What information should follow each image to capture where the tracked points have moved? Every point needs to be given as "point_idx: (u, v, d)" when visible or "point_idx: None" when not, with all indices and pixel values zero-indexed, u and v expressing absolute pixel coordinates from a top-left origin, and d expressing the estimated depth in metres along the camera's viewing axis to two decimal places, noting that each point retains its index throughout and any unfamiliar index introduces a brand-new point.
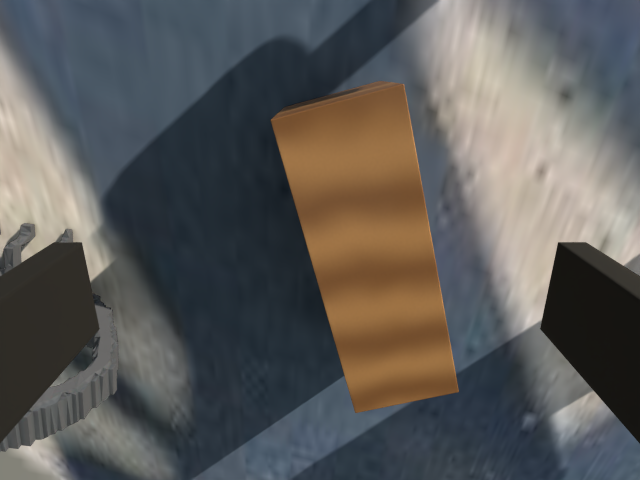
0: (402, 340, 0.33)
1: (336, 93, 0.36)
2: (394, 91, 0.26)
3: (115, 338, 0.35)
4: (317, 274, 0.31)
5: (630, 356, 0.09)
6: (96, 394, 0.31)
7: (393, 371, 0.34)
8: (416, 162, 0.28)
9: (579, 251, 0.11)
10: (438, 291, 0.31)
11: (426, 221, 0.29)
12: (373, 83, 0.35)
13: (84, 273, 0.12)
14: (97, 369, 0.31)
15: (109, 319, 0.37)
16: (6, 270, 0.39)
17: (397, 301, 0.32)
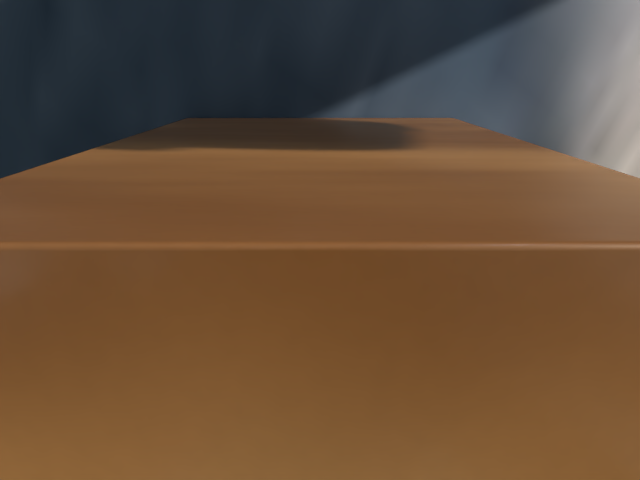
0: None
1: (332, 121, 0.13)
2: None
3: None
4: None
5: None
6: None
7: None
8: None
9: None
10: None
11: None
12: (440, 121, 0.12)
13: None
14: None
15: None
16: None
17: None
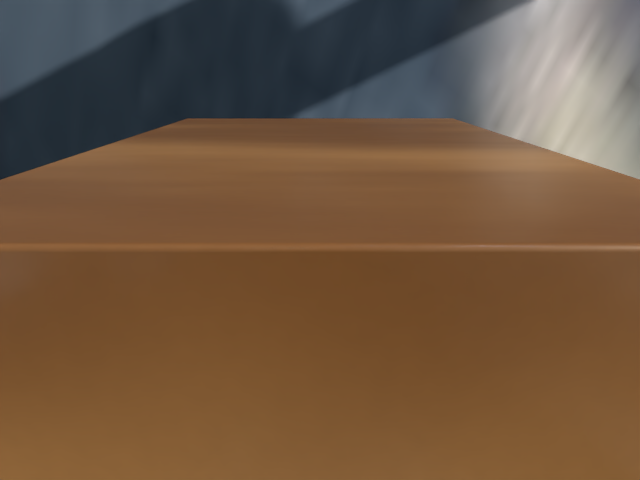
0: None
1: (332, 121, 0.13)
2: None
3: None
4: None
5: None
6: None
7: None
8: None
9: None
10: None
11: None
12: (440, 122, 0.12)
13: None
14: None
15: None
16: None
17: None
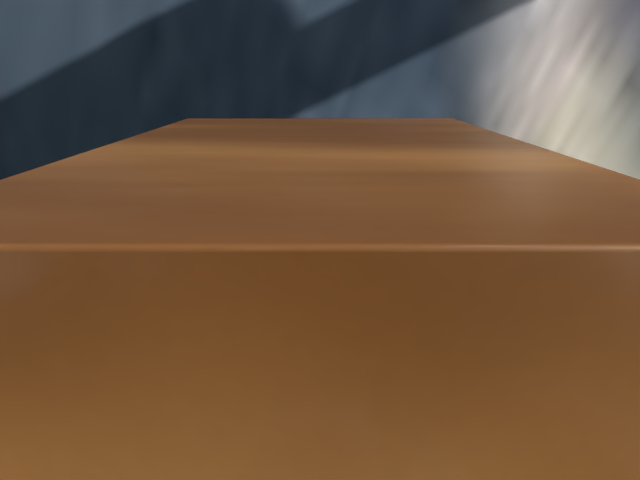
0: None
1: (333, 121, 0.13)
2: None
3: None
4: None
5: None
6: None
7: None
8: None
9: None
10: None
11: None
12: (440, 122, 0.12)
13: None
14: None
15: None
16: None
17: None
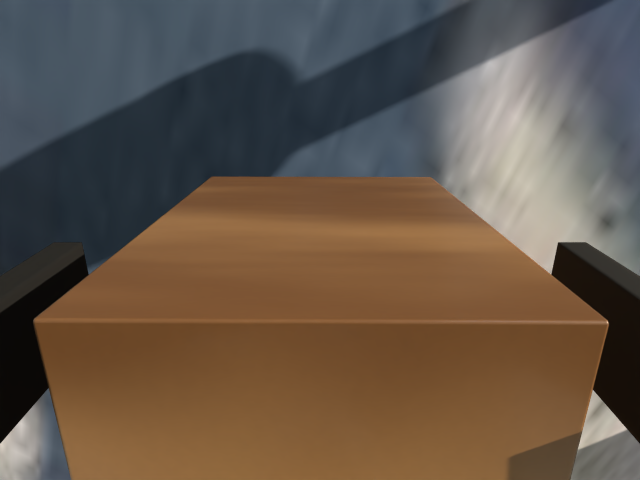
0: None
1: (331, 182, 0.16)
2: (561, 338, 0.06)
3: None
4: None
5: (630, 356, 0.09)
6: None
7: None
8: None
9: (579, 251, 0.11)
10: None
11: None
12: (418, 183, 0.15)
13: (84, 273, 0.12)
14: None
15: None
16: None
17: None
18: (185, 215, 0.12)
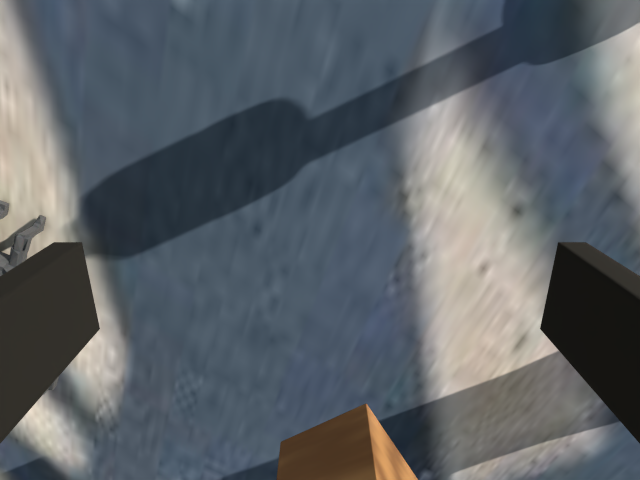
0: None
1: (326, 431, 0.36)
2: None
3: None
4: None
5: (630, 356, 0.09)
6: None
7: None
8: None
9: (579, 251, 0.11)
10: None
11: None
12: (359, 417, 0.35)
13: (85, 273, 0.12)
14: None
15: None
16: None
17: None
18: None
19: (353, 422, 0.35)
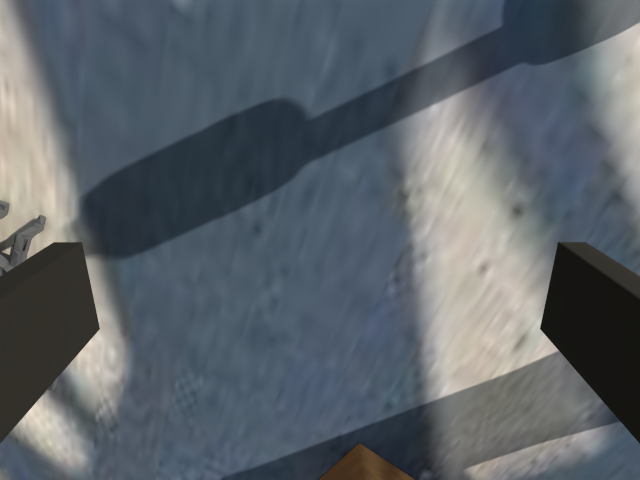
0: None
1: (339, 468, 0.52)
2: None
3: None
4: None
5: (630, 356, 0.09)
6: None
7: None
8: None
9: (579, 251, 0.11)
10: None
11: None
12: (356, 454, 0.51)
13: (84, 273, 0.12)
14: None
15: None
16: None
17: None
18: None
19: (353, 459, 0.51)
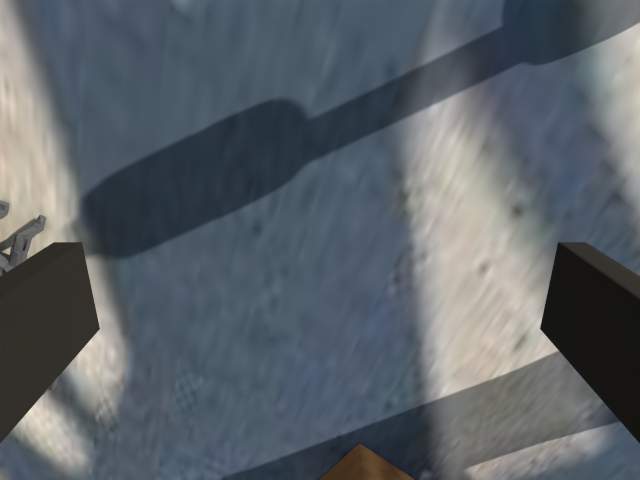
0: None
1: (339, 468, 0.52)
2: None
3: None
4: None
5: (630, 356, 0.09)
6: None
7: None
8: None
9: (579, 251, 0.11)
10: None
11: None
12: (356, 454, 0.51)
13: (84, 273, 0.12)
14: None
15: None
16: None
17: None
18: None
19: (353, 459, 0.51)
